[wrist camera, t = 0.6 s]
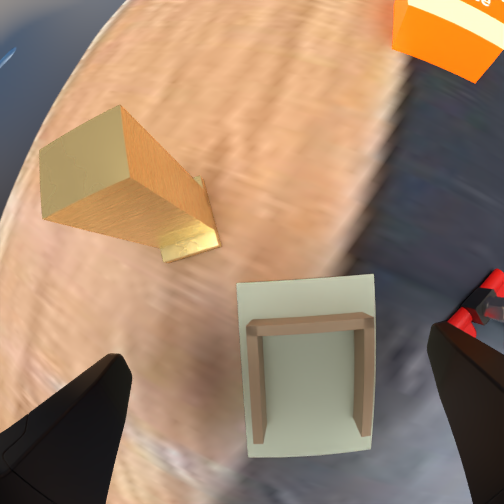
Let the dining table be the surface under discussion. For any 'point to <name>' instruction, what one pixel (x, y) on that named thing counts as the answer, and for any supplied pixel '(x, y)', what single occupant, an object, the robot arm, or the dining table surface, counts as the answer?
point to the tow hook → (482, 305)
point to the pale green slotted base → (308, 365)
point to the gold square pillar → (125, 188)
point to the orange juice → (451, 33)
